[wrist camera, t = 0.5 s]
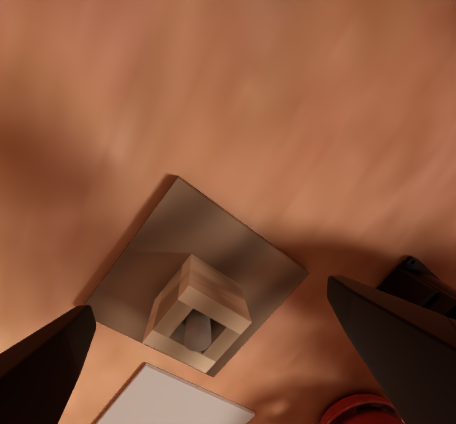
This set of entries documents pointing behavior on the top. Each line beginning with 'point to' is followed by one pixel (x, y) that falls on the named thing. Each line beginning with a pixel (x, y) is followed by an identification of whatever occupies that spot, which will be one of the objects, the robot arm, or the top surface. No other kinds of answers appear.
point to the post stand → (176, 256)
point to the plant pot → (362, 411)
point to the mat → (171, 402)
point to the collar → (203, 302)
